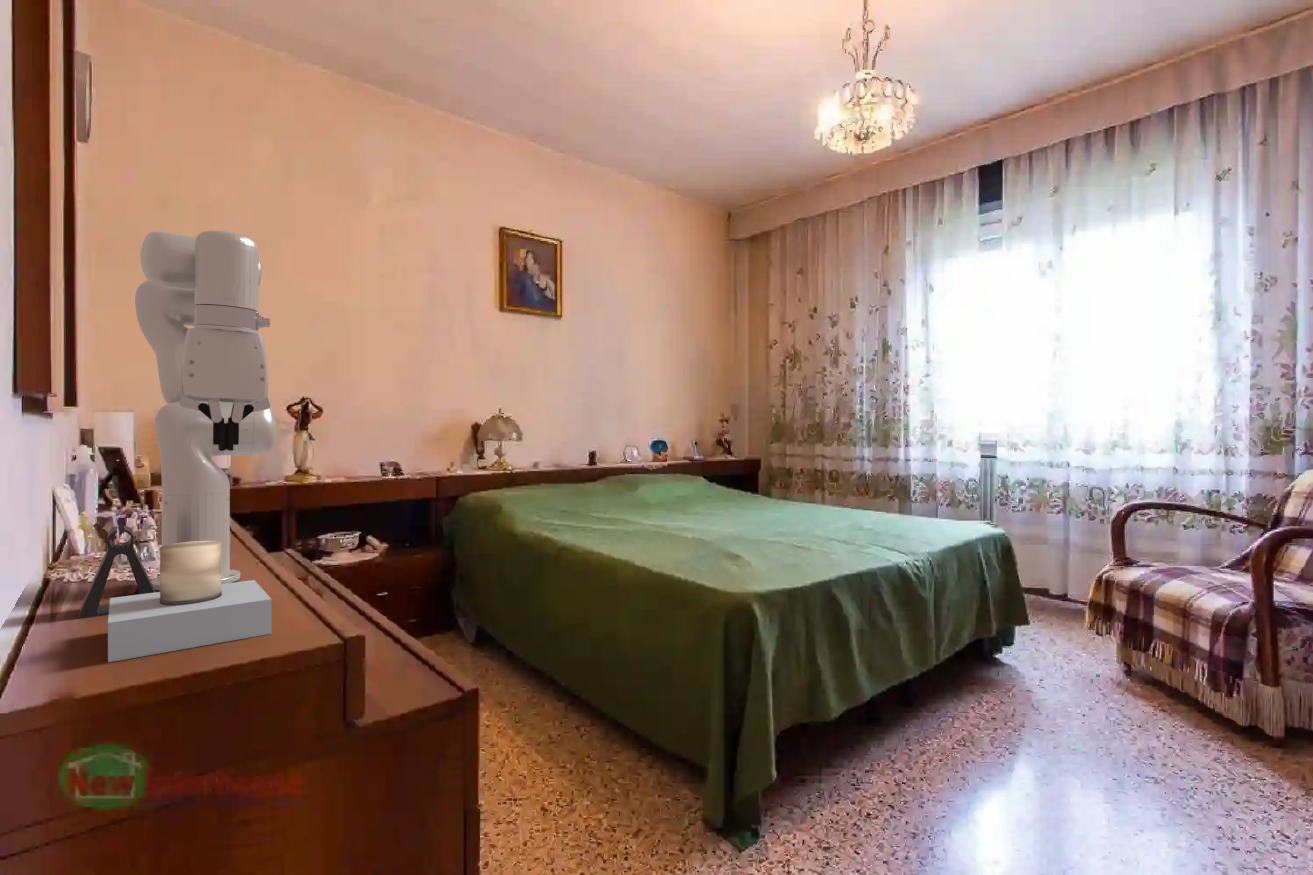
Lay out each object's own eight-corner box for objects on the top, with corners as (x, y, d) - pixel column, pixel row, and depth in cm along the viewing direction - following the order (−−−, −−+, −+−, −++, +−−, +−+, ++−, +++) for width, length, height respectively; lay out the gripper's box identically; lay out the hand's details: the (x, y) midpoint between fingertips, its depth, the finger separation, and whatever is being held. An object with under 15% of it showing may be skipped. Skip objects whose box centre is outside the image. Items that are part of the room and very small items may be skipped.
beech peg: (158, 628, 82) (158, 544, 82) (218, 618, 86) (218, 538, 86) (160, 640, 77) (160, 551, 77) (224, 630, 81) (224, 545, 81)
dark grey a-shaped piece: (78, 618, 88) (78, 533, 88) (80, 609, 92) (80, 528, 92) (160, 607, 94) (160, 527, 94) (158, 599, 98) (158, 523, 98)
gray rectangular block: (110, 632, 82) (110, 598, 82) (254, 610, 92) (254, 579, 92) (108, 662, 71) (107, 622, 71) (271, 633, 81) (271, 599, 81)
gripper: (283, 330, 97) (281, 448, 98) (160, 318, 88) (159, 448, 89) (291, 326, 91) (289, 451, 92) (160, 312, 82) (159, 452, 83)
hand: (225, 449), depth 90 cm, fingers closed
